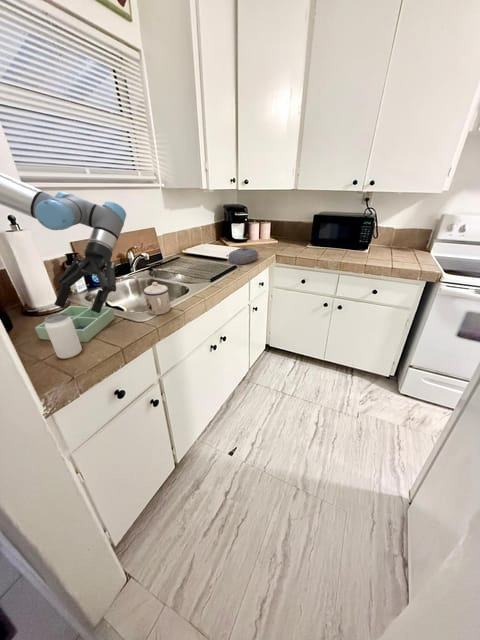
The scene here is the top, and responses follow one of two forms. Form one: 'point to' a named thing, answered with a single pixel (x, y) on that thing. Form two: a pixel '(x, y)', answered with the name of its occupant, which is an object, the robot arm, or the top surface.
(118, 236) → the robot arm
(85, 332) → the tray with compartments
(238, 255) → the grey rounded bag
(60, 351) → the can
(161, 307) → the teacup with lid
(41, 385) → the top surface
